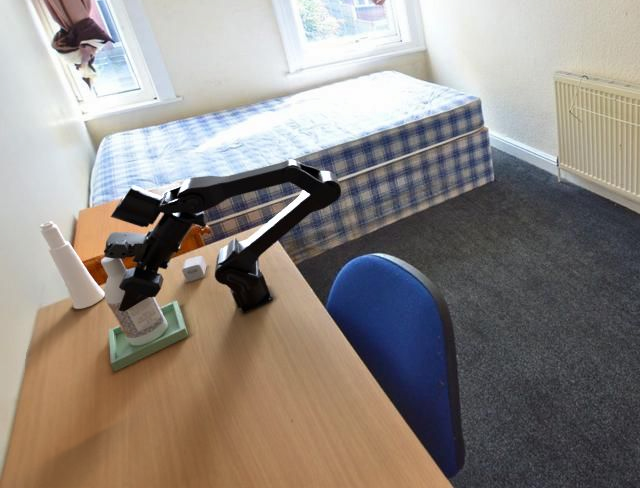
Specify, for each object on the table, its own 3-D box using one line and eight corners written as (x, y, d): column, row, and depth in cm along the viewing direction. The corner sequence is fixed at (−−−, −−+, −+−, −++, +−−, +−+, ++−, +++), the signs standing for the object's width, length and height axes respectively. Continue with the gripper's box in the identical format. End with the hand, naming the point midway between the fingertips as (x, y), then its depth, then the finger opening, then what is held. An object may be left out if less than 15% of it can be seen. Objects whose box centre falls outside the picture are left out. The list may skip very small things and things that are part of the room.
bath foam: (131, 332, 101) (90, 256, 93) (169, 317, 105) (132, 243, 97) (128, 352, 96) (84, 274, 88) (168, 336, 99) (129, 259, 91)
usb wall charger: (187, 282, 117) (181, 269, 116) (191, 267, 123) (185, 254, 122) (205, 276, 119) (199, 263, 117) (208, 262, 125) (203, 249, 123)
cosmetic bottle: (73, 313, 110) (26, 234, 101) (74, 300, 114) (30, 224, 106) (105, 300, 113) (62, 223, 105) (105, 288, 118) (64, 213, 109)
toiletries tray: (179, 307, 109) (176, 300, 108) (188, 336, 100) (184, 328, 99) (112, 337, 101) (108, 330, 100) (115, 371, 92) (110, 363, 91)
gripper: (134, 200, 99) (93, 260, 99) (111, 242, 84) (63, 314, 84) (190, 219, 105) (152, 277, 105) (178, 262, 90) (133, 329, 90)
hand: (126, 297), depth 96 cm, fingers open, 9 cm apart
